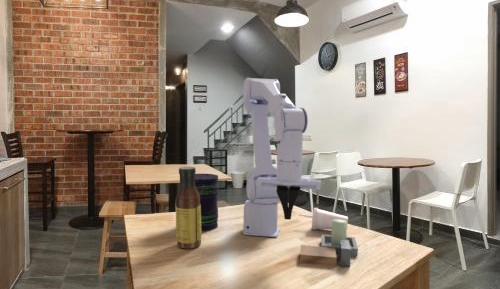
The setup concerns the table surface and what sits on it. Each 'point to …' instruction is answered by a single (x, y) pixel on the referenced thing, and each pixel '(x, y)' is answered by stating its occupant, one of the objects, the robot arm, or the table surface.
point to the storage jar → (208, 200)
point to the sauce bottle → (188, 210)
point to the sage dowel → (338, 231)
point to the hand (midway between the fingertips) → (287, 218)
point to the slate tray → (327, 243)
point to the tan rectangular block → (318, 255)
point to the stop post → (345, 253)
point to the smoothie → (324, 219)
